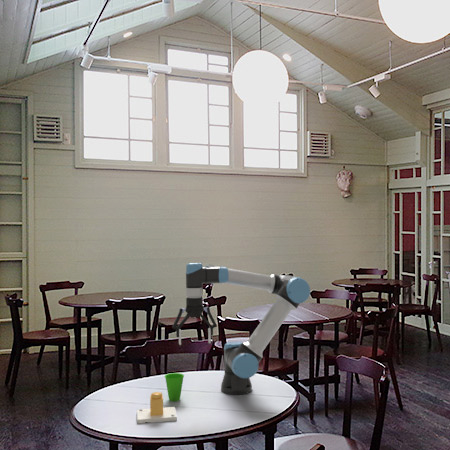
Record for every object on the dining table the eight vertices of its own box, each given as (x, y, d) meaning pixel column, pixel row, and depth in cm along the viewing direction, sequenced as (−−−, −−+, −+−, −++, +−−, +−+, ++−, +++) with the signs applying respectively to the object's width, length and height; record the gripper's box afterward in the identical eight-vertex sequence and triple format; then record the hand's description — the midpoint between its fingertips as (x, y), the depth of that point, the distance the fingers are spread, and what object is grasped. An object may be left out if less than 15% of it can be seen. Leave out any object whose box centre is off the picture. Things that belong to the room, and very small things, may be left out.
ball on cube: (162, 410, 209) (162, 391, 209) (163, 414, 204) (163, 395, 204) (150, 411, 208) (150, 392, 208) (150, 415, 203) (150, 396, 203)
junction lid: (174, 410, 213) (174, 397, 213) (176, 420, 201) (176, 407, 201) (137, 412, 210) (137, 400, 210) (137, 423, 198) (137, 409, 199)
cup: (181, 403, 222) (180, 379, 222) (162, 402, 224) (161, 378, 224) (186, 396, 231) (186, 373, 231) (168, 395, 232) (168, 372, 233)
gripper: (219, 295, 230) (220, 340, 229) (166, 296, 225) (166, 343, 225) (222, 297, 222) (223, 343, 222) (167, 298, 218) (167, 346, 217)
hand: (194, 343), depth 223 cm, fingers open, 13 cm apart
